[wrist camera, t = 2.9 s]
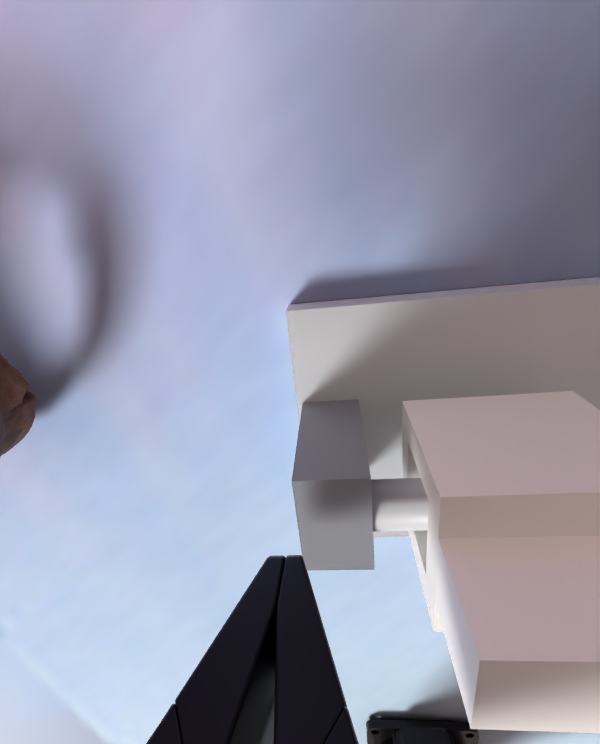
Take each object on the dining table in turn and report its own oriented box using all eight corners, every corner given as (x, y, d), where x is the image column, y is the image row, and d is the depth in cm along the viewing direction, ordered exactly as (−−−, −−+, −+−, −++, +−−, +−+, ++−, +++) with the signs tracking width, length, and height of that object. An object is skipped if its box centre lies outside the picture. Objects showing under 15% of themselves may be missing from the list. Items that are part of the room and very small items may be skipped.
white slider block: (402, 507, 13) (466, 761, 7) (402, 400, 12) (486, 612, 5) (550, 502, 13) (759, 774, 7) (572, 390, 11) (880, 611, 5)
